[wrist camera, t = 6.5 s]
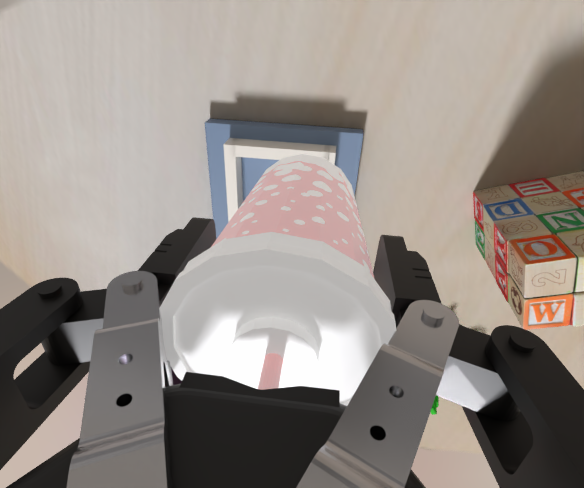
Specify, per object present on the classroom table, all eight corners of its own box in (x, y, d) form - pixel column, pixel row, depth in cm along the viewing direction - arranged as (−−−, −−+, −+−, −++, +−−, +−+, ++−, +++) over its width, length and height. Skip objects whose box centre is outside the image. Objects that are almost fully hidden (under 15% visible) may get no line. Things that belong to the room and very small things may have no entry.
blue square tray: (210, 118, 34) (188, 135, 29) (362, 129, 32) (365, 148, 28) (221, 260, 42) (206, 290, 38) (342, 272, 41) (342, 305, 36)
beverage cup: (261, 113, 15) (-47, 468, 3) (397, 168, 15) (592, 651, 4) (224, 232, 18) (4, 636, 6) (338, 274, 19) (336, 719, 7)
